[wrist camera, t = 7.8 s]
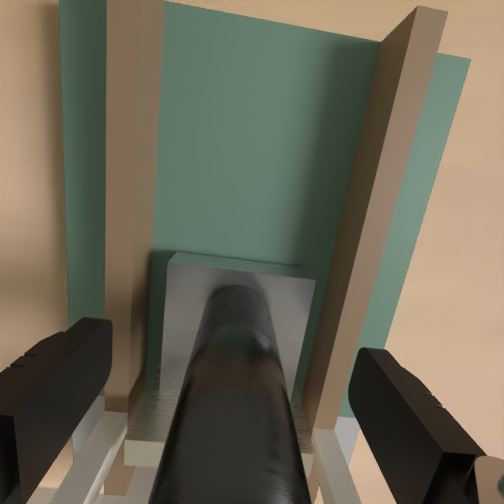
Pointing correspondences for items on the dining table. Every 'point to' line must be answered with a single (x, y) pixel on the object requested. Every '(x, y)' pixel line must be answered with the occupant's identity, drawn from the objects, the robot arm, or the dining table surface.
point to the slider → (227, 386)
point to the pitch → (242, 193)
